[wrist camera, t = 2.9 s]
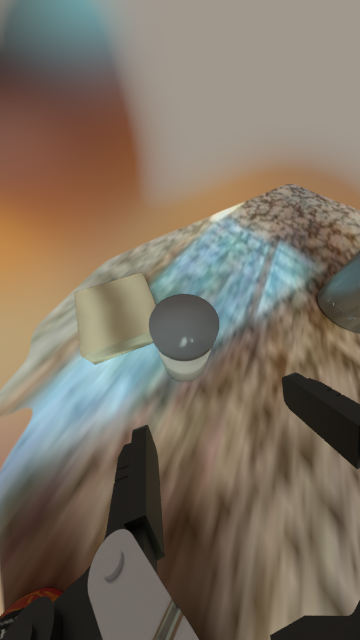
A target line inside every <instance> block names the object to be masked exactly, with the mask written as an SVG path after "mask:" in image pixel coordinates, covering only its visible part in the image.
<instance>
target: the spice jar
mask: <svg viewBox="0 0 360 640" xmlns="http://www.w3.org/2000/svg"><path fill="white" fill-rule="evenodd" d="M149 331H150V335H151V337H152V340H153V342H154V344H155V346H156V348H157V349H158V351H159V354H160V357H161V359H162V362H163V364H164V367H165V369H166V371H167V373H168V374H169V376H170V377H172V378H173V379H174V380H176V381H179V382H191V381H193V380H195V379H197V378H198V377H199V376H200V375H201V374H202V373H203V371H204V369H205V366H206V363H207V360H208V357H209V354H210V351H211V348H212V346H213V345H214V342H215V340H216V337H217V334H218V331H219V318H218V315H217V313H216V311H215V309H214V308H213V307H212V306H211V304H210V303H208V302H207V301H206V300H204V299H202V298H200V297H198V296H194V295H189V294H179V295H174V296H171V297H168V298H166V299H164V300H163V301H161V302H160V303H159V304H158V305H157V306H156V307H155V308H154V310H153V311H152V313H151V315H150V318H149Z"/></svg>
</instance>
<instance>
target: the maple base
mask: <svg viewBox="0 0 360 640" xmlns="http://www.w3.org/2000/svg"><path fill="white" fill-rule="evenodd" d="M74 294H75V304H76V313H77V323H78V332H79V342H80V352H81V356H82V357H84V358H85V359H87V360H89V361H90V362H92V363H93V364H95V365H96V364H98V363H101V362H104V361H106V360H109V359H111V358H114V357H117V356H119V355H122V354H125V353H127V352H130V351H133V350H135V349H138V348H141V347H143V346H146V345H148V344H151V343H154V342H153V340H152V337H151V335H150V331H149V318H150V315H151V313H152V311H153V310H154V308H155V307H156V304H155V302H154V299H153V297H152V294H151V292H150V289H149V287H148V284H147V282H146V280H145V277H144V275H143V272H141V273H138V274H134V275H131V276H128V277H125V278H121V279H118V280H115V281H111V282H108V283H105V284H102V285H98V286H95V287H92V288H88V289H85V290H82V291H78V292H75V293H74Z"/></svg>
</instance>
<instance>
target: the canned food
mask: <svg viewBox="0 0 360 640" xmlns="http://www.w3.org/2000/svg"><path fill="white" fill-rule="evenodd" d="M62 593H63V592H62V591H60V590H58V589H55V588H42V589H38V590H35V591H33V592H31V593H29V594H28V595H26V596H24V597H22V598H21V599H19V600H17V601H16V602H15V603H14V604H13V605H12V606H10V607H9V608H8V609H7V610H6V611H5V612H4V613H3V614H2V615H1V616H0V640H1V639H2V637H3V636H4V634H5V633H6V631H7V629H8V628H9V626H10V625H11V624H12V622H13V621H14V620H15V618H16V617H17V616H18V615H19V614H20V612H21V611H22V610H23V609H24V608H25V607H26V606H27V605H29V604H30V603H31V602H32V601H34V600H35V599H37V598H40V597H44V596H46V597H49V598H50V599H51V600H52V601H54V600H56V599H57V598H58V597H59V596H60V595H61V594H62Z"/></svg>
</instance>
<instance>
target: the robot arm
mask: <svg viewBox="0 0 360 640" xmlns="http://www.w3.org/2000/svg"><path fill="white" fill-rule="evenodd" d="M317 297H318V303H319V306H320V308H321V309H322V311H323V312H324V313H325V314H326V316H327V317H329V318H330V319H331V320H332V321H333V322H335V323H336V324H338V325H339V326H341V327H343V328H346V329H348V330H351V331H354V332H357V333H360V250H359V251H358V252H357V253H356V254H355V255H354V256H353V257H352V258H351V259H350V260H349V261H348V262H347V263H346V264H345V265H344V266H343V267H342V268H341V269H340V270H339V271H338V272H337V273H336V274H335V275H334V276H333V277H332V278H331V279H330V280H329V281H328V282H327V283H326V284H325V285H324V286H323V287H322V288H321V289H320V291H319V292H318V296H317ZM282 385H283V396H284V401H285V403H286V405H287V406H288V408H289V409H290V410H291V411H292V412H293V413H294V414H296V415H297V416H298V417H299V418H300V419H301V420H302V421H303V422H305V423H306V424H307V425H308V426H309V427H310V428H311V429H312V430H314V431H315V432H316V433H317V434H318V435H319V436H320V437H321V438H323V439H324V440H325V441H326V442H327V443H328V444H329V445H330V446H332V447H333V448H334V449H335V450H336V451H337V452H338V453H339V454H341V455H342V456H343V457H344V458H345V459H346V460H347V461H348V462H350V463H351V464H352V465H353V466H354V467H355V468H356V469H359V468H360V404H358V403H356V402H355V401H353V400H351V399H349V398H348V397H346V396H344V395H341V393H339V392H337V391H335V390H332V388H330V387H329V386H327V385H325V384H323V383H322V382H319V381H316V380H313V379H310V378H308V379H307V378H305V377H304V376H302V375H300V374H298V373H292V374H290V375H287V376H284V377H283V378H282ZM116 470H117V472H116V475H115V483H114V487H113V494H112V500H111V506H110V512H109V518H108V525H107V530H106V535H105V538H104V542H103V543H102V544H101V546H100V547H99V549H98V551H97V552H96V555H95V557H94V559H93V562H92V564H91V566H90V567H89V568H88V569H87V570H86V572H85V573H84V574H83V575H82V576H81V577H80V578H79V579H77V580H76V581H75V582H74V583H73V584H72V585H71V586H70V587H69V588H68V589H67V590H65V591H64V592H63V593H62V594H61V595H60V596H59V597H58V598H57V599H56V600H54V601H52V600H51V599H50V598H49V597H46V596H44V597H40V598H37V599H35V600H34V601H32V602H31V603H30V604H29V605H27V606H26V607H25V608H24V609H23V610H22V611H21V612H20V614H19V615H18V616H17V617H16V618H15V620H14V621H13V622H12V624H11V625H10V626H9V628H8V629H7V631H6V633H5V634H4V636H3V637H2V639H1V640H199V639H198V637H197V635H196V634H195V632H194V631H193V629H192V627H191V626H190V624H189V623H188V621H187V619H186V618H185V616H184V615H183V613H182V612H181V610H180V609H179V607H178V606H177V605H176V604H175V603H174V601H173V600H172V598H171V597H170V595H169V593H168V592H167V590H166V589H165V587H164V585H163V584H162V582H161V580H160V579H159V577H158V576H157V566H156V561H157V560H159V559H161V558H163V557H164V543H163V528H162V512H161V497H160V481H159V466H158V455H157V450H156V446H155V443H154V441H153V438H152V435H151V432H150V430H149V427H148V425H145V426H142V427H139V428H137V429H134V430H133V432H132V441H131V443H129V444H126V445H124V447H123V449H122V451H121V453H120V455H119V457H118V463H117V469H116ZM270 638H271V640H360V601H359V603H358V605H357V607H356V609H355V610H354V612H353V613H352V614H351V615H350V616H303V617H302V618H300V619H298V620H296V621H295V622H293V623H291V624H289V625H288V626H286V627H284V628H282V629H281V630H279V631H277V632H275V633H274V634H272V635H270Z"/></svg>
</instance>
